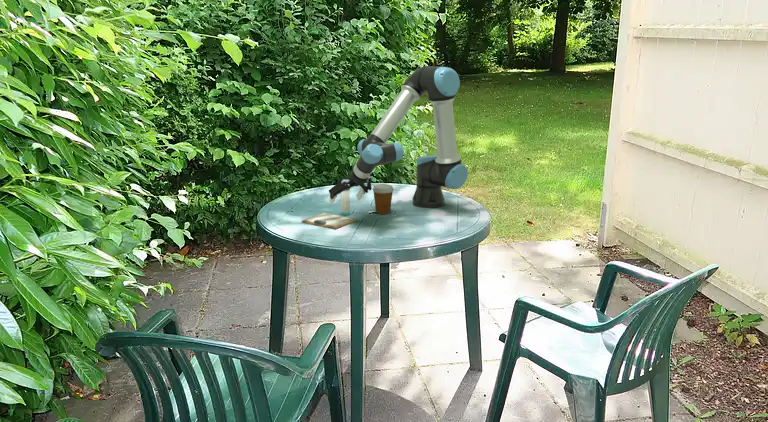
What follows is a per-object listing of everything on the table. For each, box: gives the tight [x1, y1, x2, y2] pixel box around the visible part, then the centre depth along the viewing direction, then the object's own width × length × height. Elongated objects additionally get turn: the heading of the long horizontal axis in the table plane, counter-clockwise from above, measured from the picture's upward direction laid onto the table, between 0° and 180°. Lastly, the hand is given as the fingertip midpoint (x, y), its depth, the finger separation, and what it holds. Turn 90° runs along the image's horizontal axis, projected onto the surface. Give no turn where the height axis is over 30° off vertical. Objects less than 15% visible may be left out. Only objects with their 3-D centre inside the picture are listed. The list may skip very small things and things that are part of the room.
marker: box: [340, 184, 351, 216], centre depth 276 cm, size 4×4×13 cm
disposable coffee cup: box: [371, 183, 395, 215], centre depth 279 cm, size 10×10×12 cm
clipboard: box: [301, 212, 358, 230], centre depth 266 cm, size 18×15×2 cm
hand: (344, 199), depth 274 cm, fingers open, 13 cm apart
